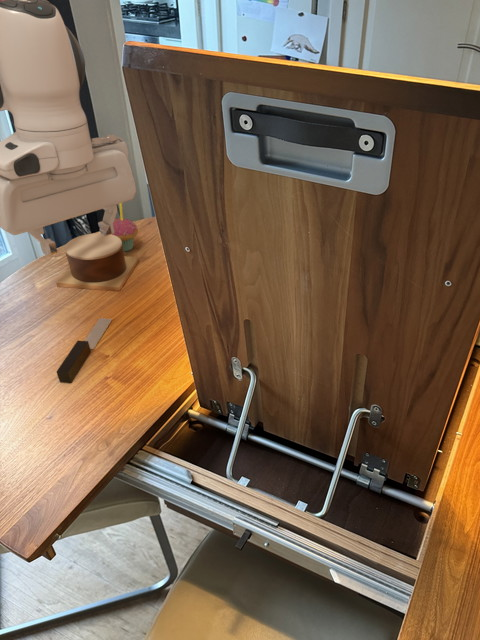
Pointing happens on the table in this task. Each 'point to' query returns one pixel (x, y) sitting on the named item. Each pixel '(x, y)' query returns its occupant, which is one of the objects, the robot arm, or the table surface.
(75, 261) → the cake
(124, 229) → the cupcake
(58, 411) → the table surface
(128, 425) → the table surface
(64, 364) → the knife
